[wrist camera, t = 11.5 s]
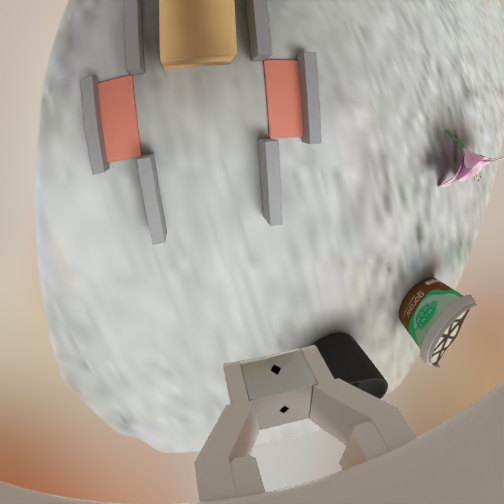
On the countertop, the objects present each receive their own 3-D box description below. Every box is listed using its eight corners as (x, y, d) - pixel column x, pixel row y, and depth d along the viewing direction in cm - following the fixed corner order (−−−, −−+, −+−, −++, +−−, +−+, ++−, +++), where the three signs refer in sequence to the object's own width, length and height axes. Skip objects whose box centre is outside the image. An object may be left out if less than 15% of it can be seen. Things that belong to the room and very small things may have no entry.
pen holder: (349, 367, 46) (376, 411, 37) (296, 379, 44) (318, 429, 35) (362, 324, 42) (396, 370, 33) (303, 336, 40) (331, 389, 31)
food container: (414, 264, 39) (458, 301, 30) (437, 269, 41) (479, 302, 32) (380, 333, 44) (413, 375, 35) (405, 332, 46) (438, 370, 37)
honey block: (225, -5, 21) (232, -26, 16) (228, 64, 24) (237, 53, 20) (163, -1, 20) (159, -21, 15) (164, 70, 23) (160, 60, 19)
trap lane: (298, -20, 21) (317, -38, 16) (314, 209, 32) (335, 225, 28) (85, 1, 17) (69, -16, 13) (114, 240, 29) (102, 261, 25)
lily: (401, 168, 33) (453, 221, 28) (444, 91, 25) (508, 141, 20) (438, 174, 39) (479, 216, 34) (474, 115, 31) (521, 156, 26)
